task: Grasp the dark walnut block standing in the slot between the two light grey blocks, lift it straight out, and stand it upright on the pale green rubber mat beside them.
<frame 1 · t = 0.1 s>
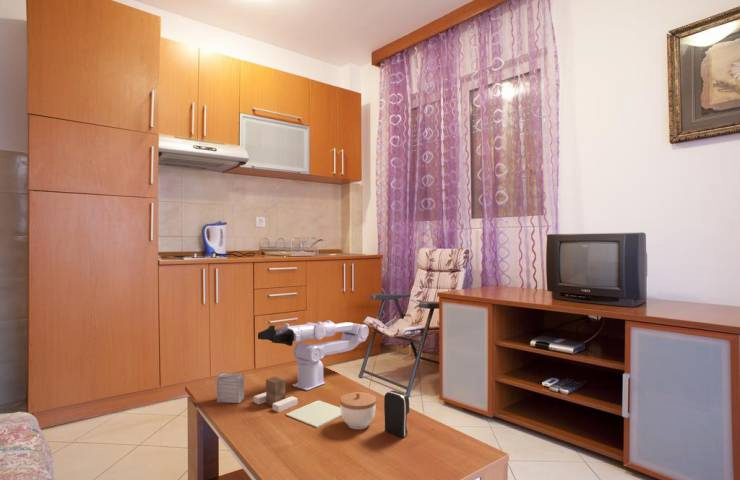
hand: (265, 337, 138), 22 cm above the table, tool horizontal, fingers open, 7 cm apart
slot blocks: (275, 403, 137), on the table
medicine box: (230, 401, 139), on the table
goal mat: (317, 413, 128), on the table
lidded jar: (358, 425, 121), on the table
walnut block: (275, 403, 137), on the table
battery charger: (397, 433, 115), on the table
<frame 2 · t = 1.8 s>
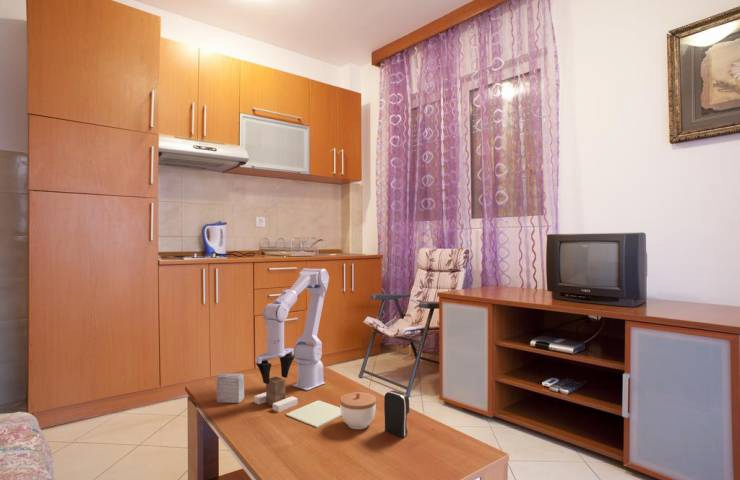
hand: (275, 380, 137), 8 cm above the table, tool pointing down, fingers open, 7 cm apart
nothing on the table moved.
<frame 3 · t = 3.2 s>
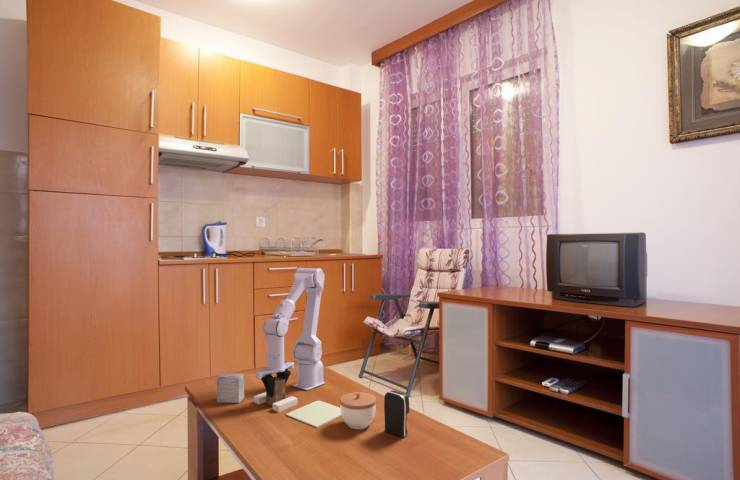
hand: (275, 394, 137), 3 cm above the table, tool pointing down, fingers closed on walnut block, 4 cm apart
walnut block: (275, 403, 137), on the table, touching gripper
everything else where it was.
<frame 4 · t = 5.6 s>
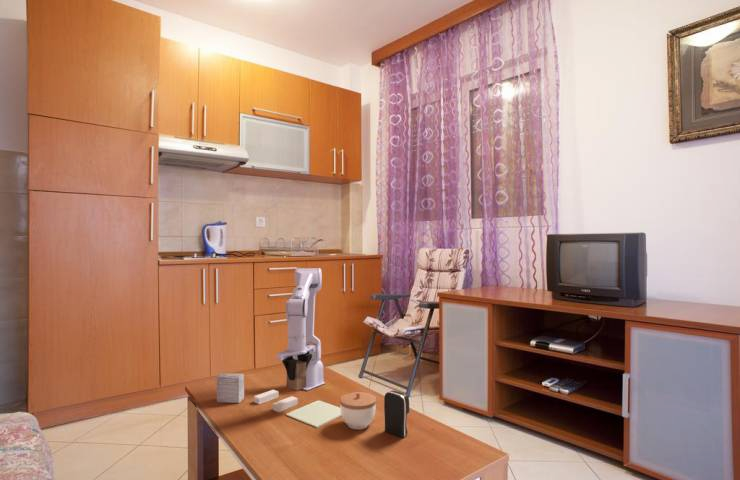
hand: (296, 377, 132), 10 cm above the table, tool pointing down, fingers closed on walnut block, 4 cm apart
walnut block: (296, 386, 132), point 7 cm above the table, touching gripper
everything else where it was.
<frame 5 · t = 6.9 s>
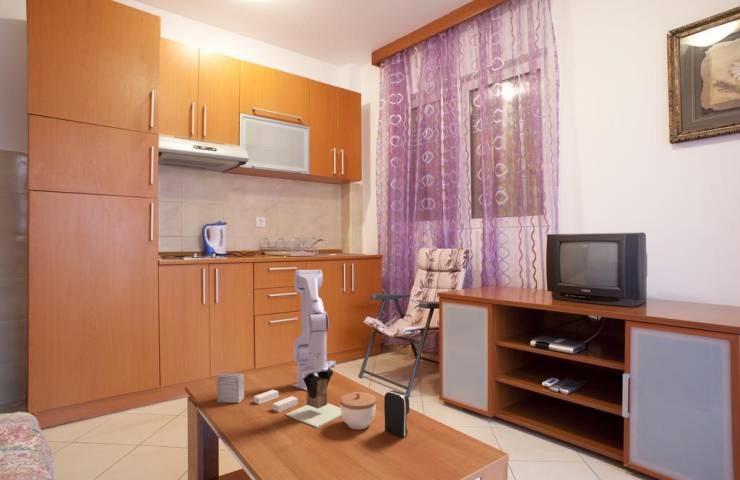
hand: (317, 395, 128), 6 cm above the table, tool pointing down, fingers closed on walnut block, 4 cm apart
walnut block: (316, 404, 129), point 3 cm above the table, touching gripper
everything else where it was.
when the fingers open (4 cm above the table, at t = 8.0 s): walnut block stays where it is, resting on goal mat.
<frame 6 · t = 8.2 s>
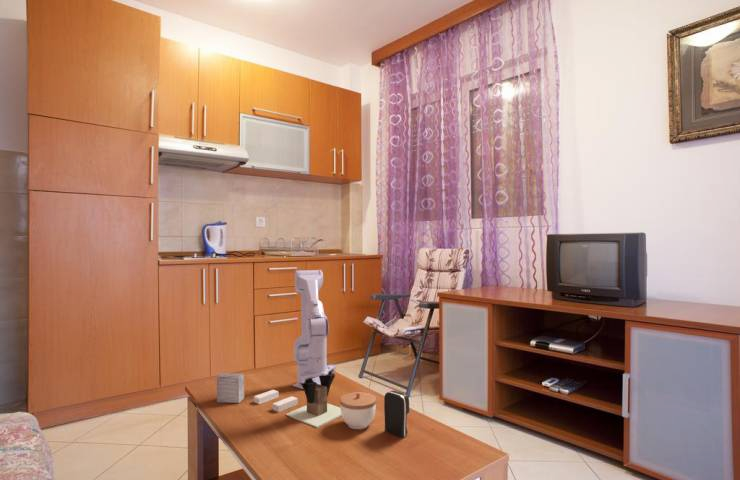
hand: (317, 399, 128), 4 cm above the table, tool pointing down, fingers open, 6 cm apart
walnut block: (316, 412, 129), resting on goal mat
everything else where it was.
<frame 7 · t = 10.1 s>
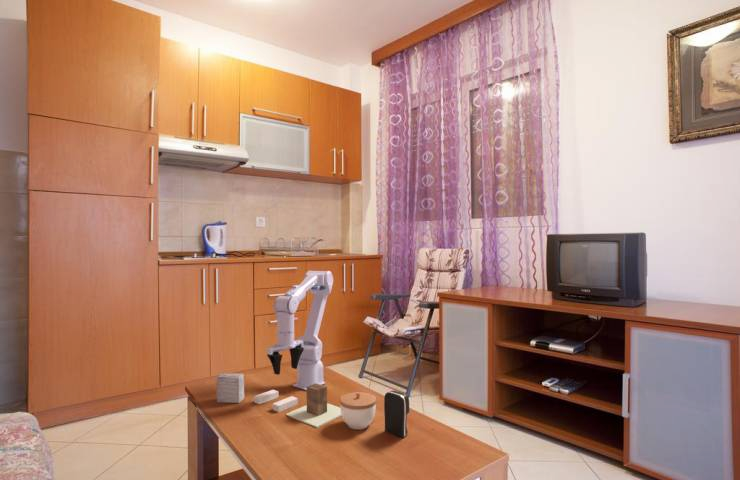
hand: (285, 371, 140), 10 cm above the table, tool pointing down, fingers open, 7 cm apart
nothing on the table moved.
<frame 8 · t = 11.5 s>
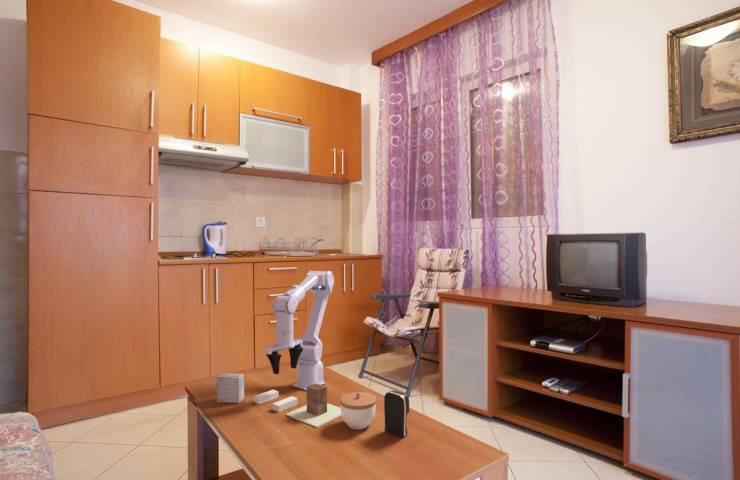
hand: (285, 370, 140), 10 cm above the table, tool pointing down, fingers open, 7 cm apart
nothing on the table moved.
at the end: walnut block inside the target area (0.3 cm from its centre), resting on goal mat; walnut block tilted 0°; the gripper is holding nothing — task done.
